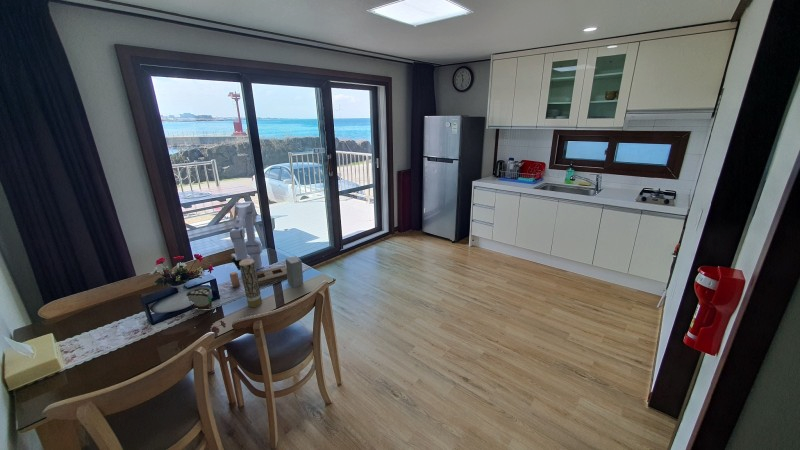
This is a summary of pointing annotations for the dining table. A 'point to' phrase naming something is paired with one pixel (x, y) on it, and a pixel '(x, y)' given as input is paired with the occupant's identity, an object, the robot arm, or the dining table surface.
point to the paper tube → (250, 282)
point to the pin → (234, 279)
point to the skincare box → (294, 271)
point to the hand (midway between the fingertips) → (245, 270)
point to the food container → (200, 298)
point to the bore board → (272, 275)
